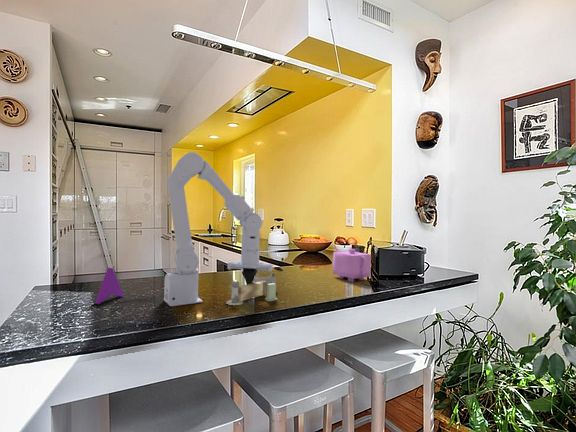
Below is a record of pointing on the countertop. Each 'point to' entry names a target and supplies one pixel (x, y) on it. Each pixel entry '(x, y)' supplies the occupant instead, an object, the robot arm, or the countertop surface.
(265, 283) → the gate
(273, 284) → the latch post
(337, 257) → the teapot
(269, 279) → the caliper
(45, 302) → the countertop surface
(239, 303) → the hinge post
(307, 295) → the countertop surface
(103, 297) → the arrowhead
